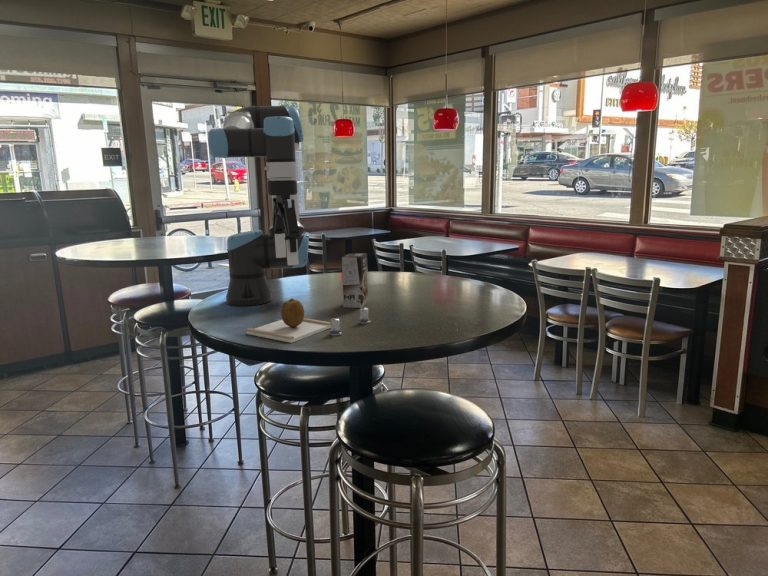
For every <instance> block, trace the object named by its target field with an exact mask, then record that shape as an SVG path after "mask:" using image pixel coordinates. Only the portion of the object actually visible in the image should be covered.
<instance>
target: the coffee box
mask: <svg viewBox="0 0 768 576" xmlns="http://www.w3.org/2000/svg"><path fill="white" fill-rule="evenodd" d="M341 273H342V275H341V277H342V301H343V303H342V304H343V306H342V307H343V308H358V309H360V308H364V306H365V305H366V304H368V302H369V280H368V279H369V277H368V275H369V274H368V273H369V271H368V253H367V252H366V253H365V252H360V253H359V252H358V253H357V252H355V253H347V254H346V255H343V256H342V257H341Z"/></svg>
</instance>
